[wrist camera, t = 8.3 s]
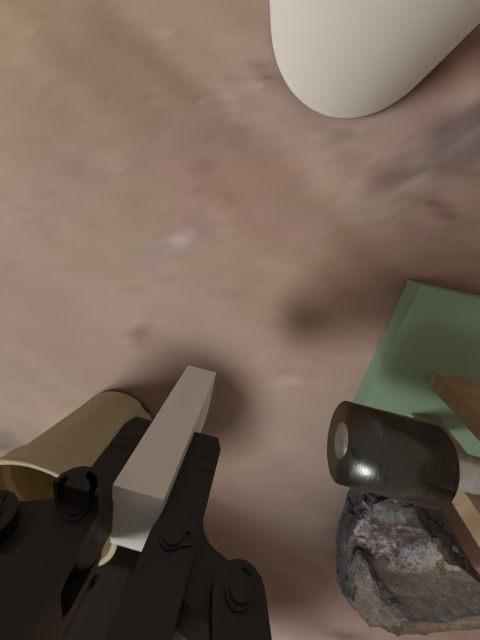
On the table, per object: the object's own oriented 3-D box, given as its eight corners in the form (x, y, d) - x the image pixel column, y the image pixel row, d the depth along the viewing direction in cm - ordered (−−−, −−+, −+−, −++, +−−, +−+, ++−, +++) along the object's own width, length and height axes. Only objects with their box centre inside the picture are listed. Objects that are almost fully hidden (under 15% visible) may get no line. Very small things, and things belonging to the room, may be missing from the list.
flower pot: (154, 367, 21) (76, 458, 13) (185, 456, 24) (137, 575, 16) (56, 378, 23) (-65, 464, 15) (96, 459, 26) (14, 567, 18)
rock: (480, 559, 24) (534, 650, 19) (365, 587, 27) (384, 668, 22) (398, 455, 21) (436, 529, 16) (282, 501, 24) (283, 573, 20)
